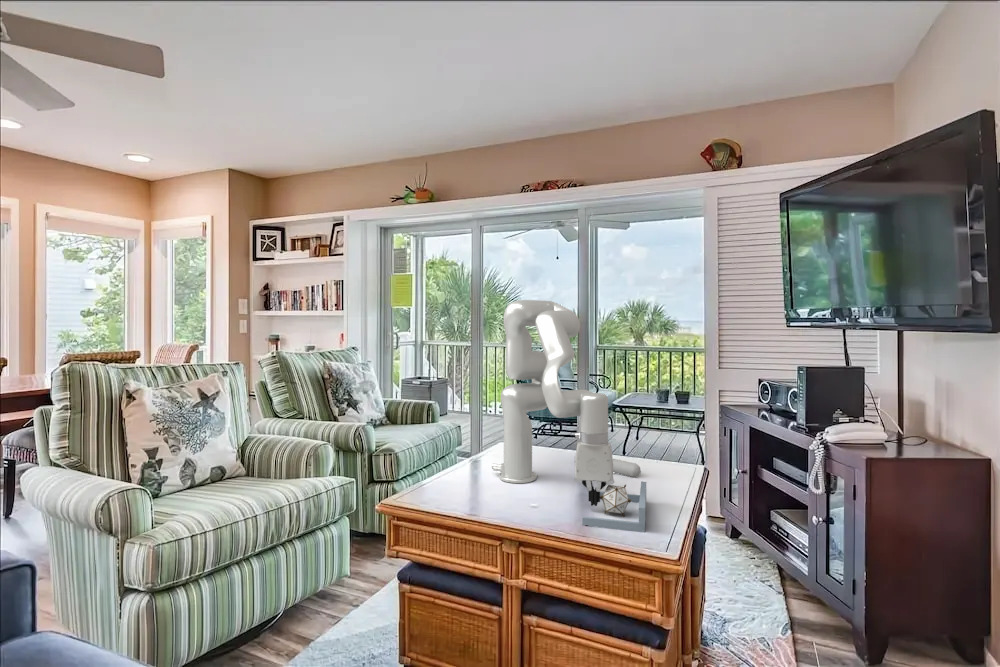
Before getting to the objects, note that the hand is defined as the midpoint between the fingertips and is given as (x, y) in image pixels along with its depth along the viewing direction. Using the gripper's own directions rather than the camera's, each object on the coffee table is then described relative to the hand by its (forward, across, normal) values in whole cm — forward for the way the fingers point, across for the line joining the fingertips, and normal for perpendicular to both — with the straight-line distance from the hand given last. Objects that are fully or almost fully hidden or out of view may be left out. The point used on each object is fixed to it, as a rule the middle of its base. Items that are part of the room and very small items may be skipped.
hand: (594, 504), depth 147 cm
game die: (+2, +5, 0) cm, 6 cm away
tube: (+2, 0, +43) cm, 43 cm away
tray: (+2, +6, +1) cm, 6 cm away
